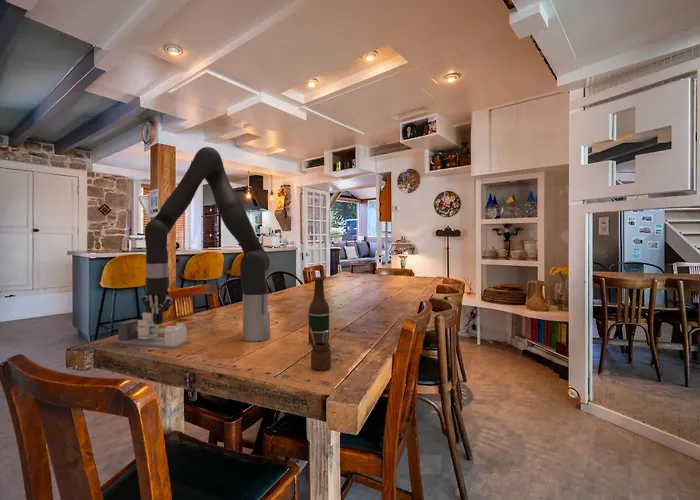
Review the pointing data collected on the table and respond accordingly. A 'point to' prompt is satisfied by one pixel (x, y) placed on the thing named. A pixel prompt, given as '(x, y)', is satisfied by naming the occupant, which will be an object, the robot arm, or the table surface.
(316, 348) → the utensil holder
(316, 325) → the beer bottle
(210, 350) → the table surface
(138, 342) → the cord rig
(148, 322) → the cream stepped block
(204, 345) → the table surface
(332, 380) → the table surface
